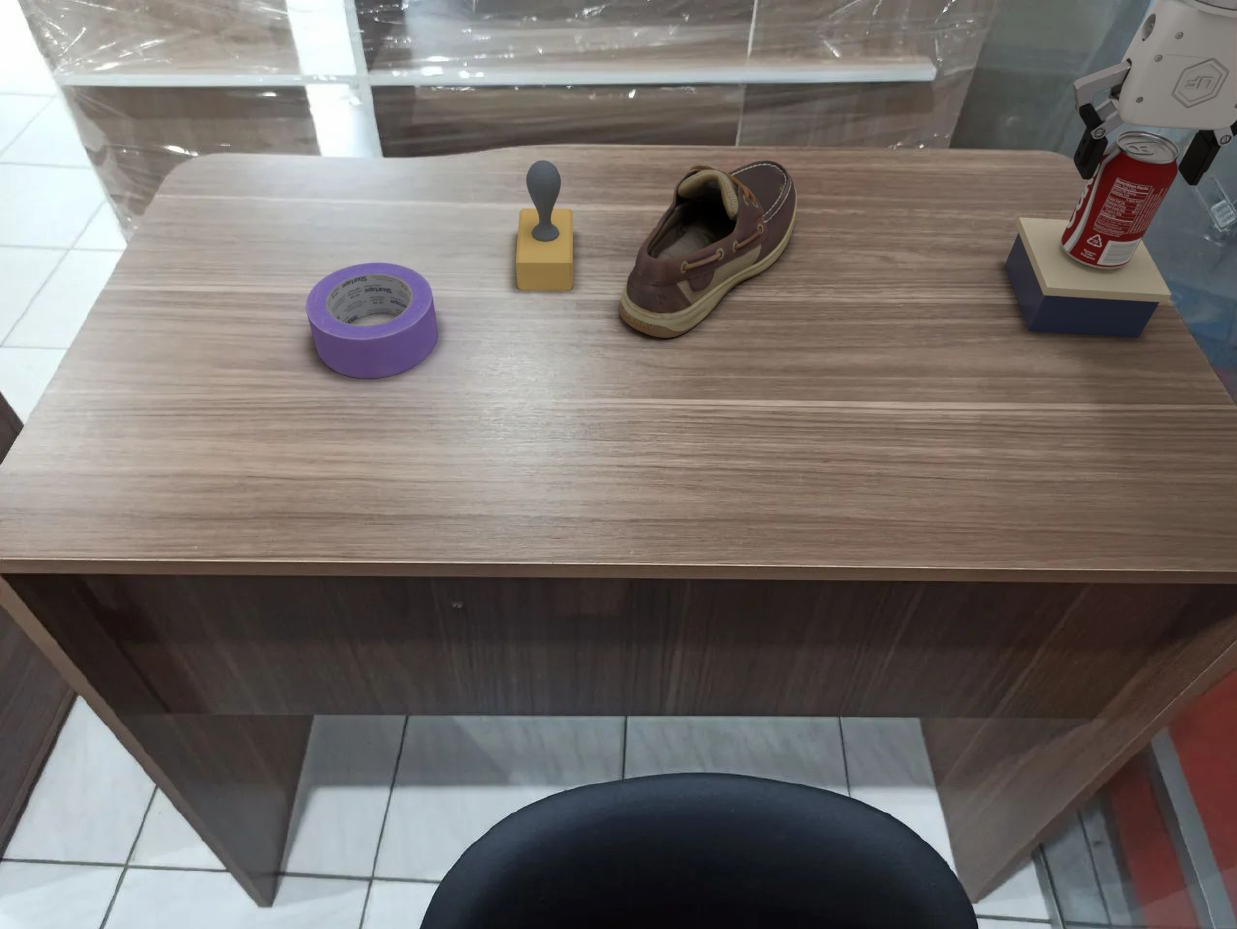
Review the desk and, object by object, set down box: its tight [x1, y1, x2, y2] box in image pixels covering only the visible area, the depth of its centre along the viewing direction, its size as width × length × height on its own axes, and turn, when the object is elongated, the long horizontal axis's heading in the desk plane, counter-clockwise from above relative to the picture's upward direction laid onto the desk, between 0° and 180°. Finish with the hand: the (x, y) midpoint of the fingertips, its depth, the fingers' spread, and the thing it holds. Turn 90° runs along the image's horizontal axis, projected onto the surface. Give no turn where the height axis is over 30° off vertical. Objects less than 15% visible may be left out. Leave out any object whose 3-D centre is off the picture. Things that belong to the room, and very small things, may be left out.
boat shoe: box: [618, 159, 798, 339], centre depth 95 cm, size 30×11×11 cm, turn 144°
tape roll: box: [305, 262, 439, 380], centre depth 87 cm, size 12×12×5 cm
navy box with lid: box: [1004, 216, 1173, 339], centre depth 94 cm, size 12×12×6 cm
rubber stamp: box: [515, 159, 574, 291], centre depth 93 cm, size 10×6×12 cm, turn 2°
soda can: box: [1061, 129, 1181, 269], centre depth 87 cm, size 7×7×12 cm
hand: (1134, 174), depth 84 cm, fingers open, 9 cm apart
